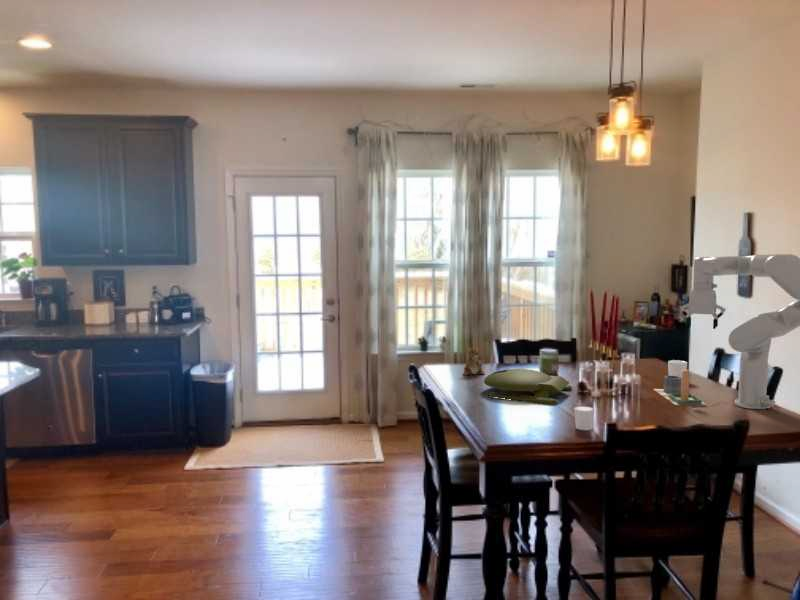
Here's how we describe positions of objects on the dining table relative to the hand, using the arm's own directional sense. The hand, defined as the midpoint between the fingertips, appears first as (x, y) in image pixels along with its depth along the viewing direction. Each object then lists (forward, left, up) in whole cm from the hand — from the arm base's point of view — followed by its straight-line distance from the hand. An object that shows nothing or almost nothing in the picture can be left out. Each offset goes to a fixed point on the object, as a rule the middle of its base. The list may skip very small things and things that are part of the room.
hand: (701, 327), depth 265 cm
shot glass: (-12, +75, -28) cm, 81 cm away
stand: (-1, +14, -28) cm, 32 cm away
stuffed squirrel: (+84, +58, -29) cm, 106 cm away
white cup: (+18, -8, -28) cm, 35 cm away
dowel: (-7, +17, -27) cm, 33 cm away
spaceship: (+39, +62, -29) cm, 78 cm away
